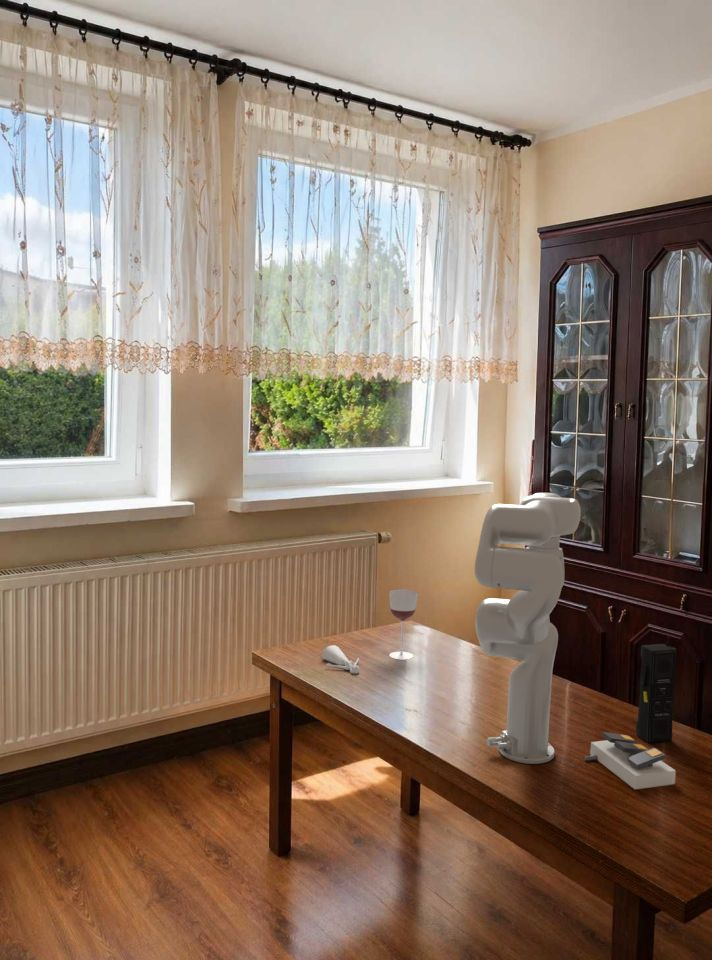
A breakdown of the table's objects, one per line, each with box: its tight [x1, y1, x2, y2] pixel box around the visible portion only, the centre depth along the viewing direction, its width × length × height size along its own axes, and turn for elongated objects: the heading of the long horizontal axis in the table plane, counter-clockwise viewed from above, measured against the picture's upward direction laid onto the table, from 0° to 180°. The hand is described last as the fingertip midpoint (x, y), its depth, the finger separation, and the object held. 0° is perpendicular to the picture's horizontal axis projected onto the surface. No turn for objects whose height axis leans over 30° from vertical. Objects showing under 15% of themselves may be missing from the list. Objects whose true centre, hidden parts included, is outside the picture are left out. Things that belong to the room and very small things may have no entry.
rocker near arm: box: [601, 731, 638, 744], centre depth 190 cm, size 7×4×2 cm, turn 107°
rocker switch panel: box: [584, 739, 677, 790], centre depth 186 cm, size 13×17×3 cm
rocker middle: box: [614, 741, 649, 756], centre depth 186 cm, size 7×4×2 cm, turn 107°
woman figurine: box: [321, 644, 361, 675], centre depth 249 cm, size 12×4×18 cm
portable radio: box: [635, 635, 677, 744], centre depth 201 cm, size 8×6×25 cm
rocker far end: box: [627, 747, 666, 769], centre depth 181 cm, size 7×4×2 cm, turn 106°
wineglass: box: [388, 588, 419, 661], centre depth 258 cm, size 8×9×20 cm
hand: (540, 614), depth 210 cm, fingers closed
